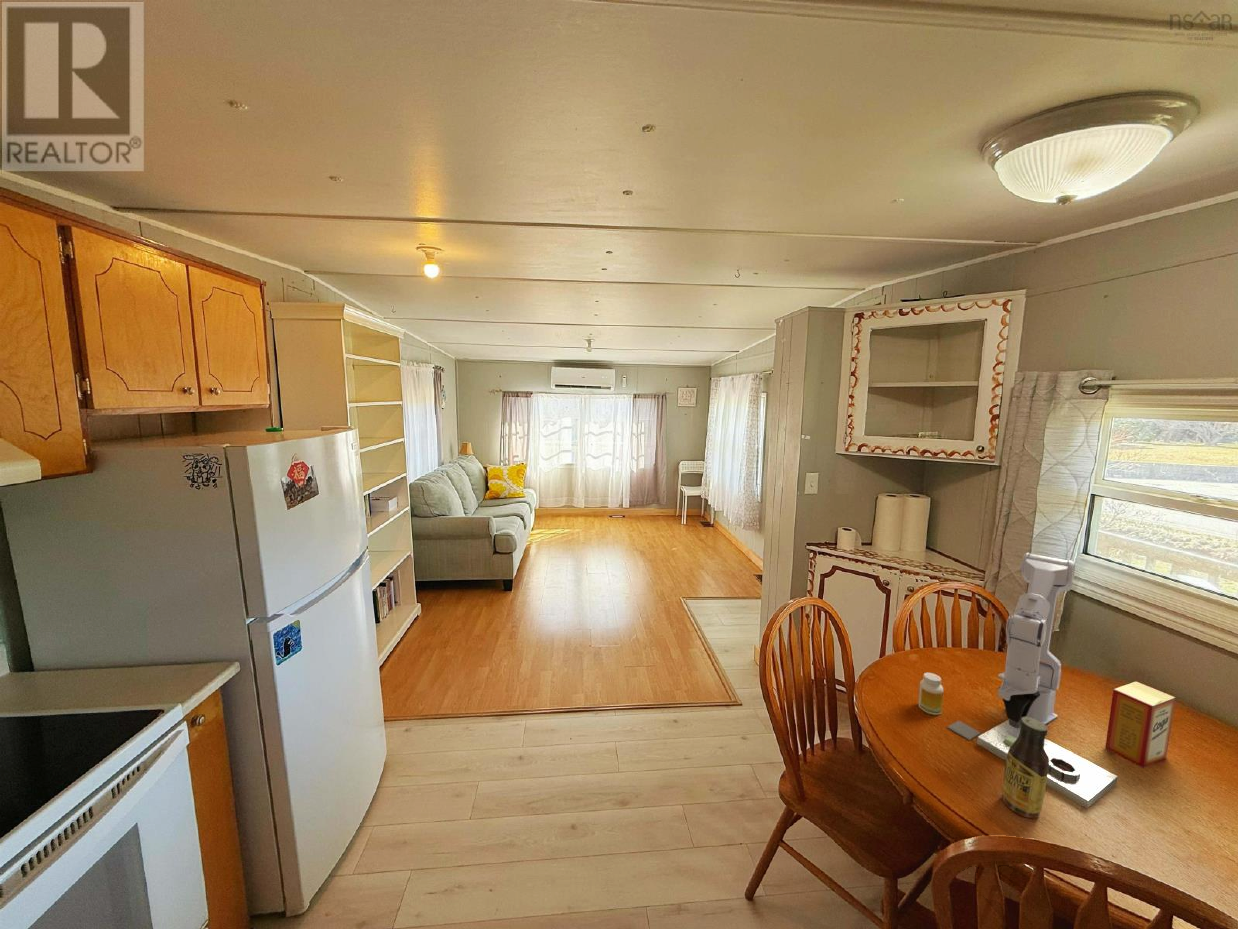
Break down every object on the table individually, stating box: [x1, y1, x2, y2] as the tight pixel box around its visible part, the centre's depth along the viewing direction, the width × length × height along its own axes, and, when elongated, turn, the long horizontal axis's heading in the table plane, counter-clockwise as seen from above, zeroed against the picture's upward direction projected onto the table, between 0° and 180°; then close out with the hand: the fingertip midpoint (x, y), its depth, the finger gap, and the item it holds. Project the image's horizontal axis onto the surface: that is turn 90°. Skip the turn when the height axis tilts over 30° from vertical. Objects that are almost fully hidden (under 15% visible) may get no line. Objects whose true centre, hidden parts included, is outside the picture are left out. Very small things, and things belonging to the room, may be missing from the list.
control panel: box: [976, 719, 1118, 809], centre depth 104 cm, size 14×20×3 cm
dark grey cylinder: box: [1008, 694, 1023, 728], centre depth 107 cm, size 2×2×8 cm
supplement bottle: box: [917, 672, 944, 716], centre depth 123 cm, size 5×5×10 cm
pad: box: [1005, 735, 1017, 746], centre depth 108 cm, size 2×2×2 cm
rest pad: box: [947, 720, 982, 741], centre depth 115 cm, size 5×5×1 cm
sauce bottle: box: [1001, 717, 1049, 819], centre depth 92 cm, size 7×6×20 cm
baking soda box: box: [1105, 681, 1177, 769], centre depth 106 cm, size 10×6×16 cm
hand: (1016, 718), depth 107 cm, fingers closed on dark grey cylinder, 2 cm apart
